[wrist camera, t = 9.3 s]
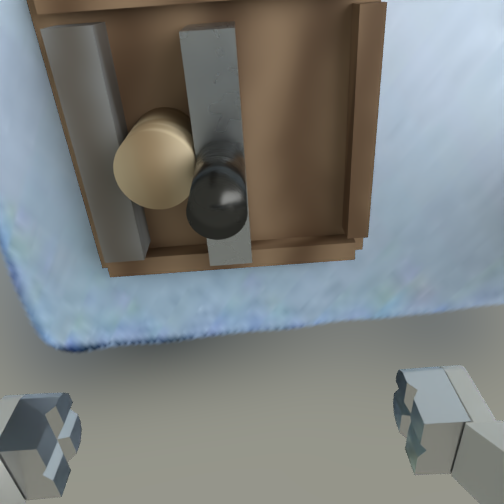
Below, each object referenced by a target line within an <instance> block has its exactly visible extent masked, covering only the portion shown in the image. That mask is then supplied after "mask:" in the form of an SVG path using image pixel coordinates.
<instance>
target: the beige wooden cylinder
mask: <svg viewBox="0 0 504 504" xmlns="http://www.w3.org/2000/svg"><path fill="white" fill-rule="evenodd" d="M195 165H196V156H195V149H194V141H193V134H192V126H191V119H190V117H189V116H188V115H187V114H185V113H184V112H182V111H180V110H177V109H174V108H170V107H159V108H155V109H152V110H150V111H148V112H146V113H145V114H144V115H142V116H141V117H140V119H139V120H138V121H137V123H136V124H135V125H134V127H133V128H132V130H131V131H130V133H129V134H128V135H127V137H126V138H125V140H124V141H123V142H122V144H121V145H120V147H119V148H118V150H117V152H116V154H115V157H114V163H113V171H114V176H115V179H116V182H117V184H118V186H119V188H120V189H121V191H122V192H123V193H124V194H125V195H126V196H127V197H128V198H129V199H130V200H132V201H133V202H135V203H136V204H138V205H141V206H143V207H146V208H150V209H167V208H171V207H174V206H176V205H178V204H180V203H181V202H183V201H184V200H185V199H186V198H187V197H188V196H189V193H190V189H191V184H192V179H193V175H194V170H195Z"/></svg>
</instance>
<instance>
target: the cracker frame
mask: <svg viewBox="0 0 504 504" xmlns="http://www.w3.org/2000/svg"><path fill="white" fill-rule="evenodd" d="M27 4H28V7H29V11H30V14H31V18H32V21H33V25H34V28H35V32H36V35H37V39H38V42H39V46H40V49H41V53H42V56H43V60H44V63H45V67H46V70H47V74H48V78H49V81H50V85H51V88H52V92H53V95H54V99H55V102H56V106H57V109H58V113H59V116H60V120H61V123H62V127H63V130H64V134H65V137H66V141H67V144H68V148H69V151H70V155H71V159H72V162H73V166H74V169H75V173H76V176H77V180H78V183H79V187H80V190H81V194H82V197H83V201H84V204H85V208H86V211H87V215H88V218H89V222H90V225H91V229H92V232H93V236H94V239H95V243H96V247H97V250H98V254H99V257H100V261H101V264H102V268H108V271H109V275H110V277H120V276H134V275H148V274H162V273H175V272H189V271H203V270H217V269H231V268H245V267H258V266H272V265H286V264H300V263H314V262H328V261H342V260H355V250H359V249H362V247H363V238H365V237H368V230H369V218H370V206H371V193H372V181H373V169H374V156H375V144H376V132H377V119H378V107H379V95H380V82H381V70H382V58H383V45H384V33H385V21H386V8H387V2H381V0H27ZM230 21H235V33H236V47H237V60H238V73H239V87H240V100H241V113H242V127H243V140H244V153H245V167H246V180H247V193H248V207H249V220H250V234H251V250H252V263H246V264H232V265H218V266H210V260H209V253H208V246H207V238H205V237H203V236H201V235H199V234H198V233H197V232H195V231H194V230H193V229H192V227H191V226H190V224H189V222H188V220H187V216H186V207H187V203H188V198H189V196H188V197H187V198H186V199H185V200H184V201H183V202H181V203H180V204H178V205H176V206H174V207H171V208H167V209H150V208H146V207H143V206H141V205H138V204H136V203H135V202H133V201H132V200H130V199H129V198H128V197H127V196H126V195H125V194H124V193H123V192H122V191H121V189H120V188H119V186H118V184H117V182H116V179H115V176H114V171H113V163H114V157H115V154H116V152H117V150H118V148H119V147H120V145H121V144H122V142H123V141H124V140H125V138H126V137H127V135H128V134H129V133H130V131H131V130H132V128H133V127H134V125H135V124H136V123H137V121H138V120H139V119H140V117H141V116H142V115H144V114H145V113H146V112H148V111H150V110H152V109H155V108H159V107H170V108H174V109H177V110H180V111H182V112H184V113H185V114H187V115H188V116H189V117H190V111H189V104H188V96H187V89H186V82H185V74H184V67H183V59H182V52H181V44H180V37H179V31H181V30H182V29H183V28H184V27H185V26H186V25H189V24H203V23H216V22H230Z"/></svg>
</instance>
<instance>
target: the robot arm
mask: <svg viewBox="0 0 504 504" xmlns="http://www.w3.org/2000/svg"><path fill="white" fill-rule="evenodd" d="M396 383H397V385H398V388H399V389H398V390H397V391H396V392H395V393H394V399H393V408H394V416H395V420H396V424H397V427H398V430H399V432H400V433H401V434H402V435H403V436H404V437H406V438H407V441H406V447H405V450H406V453H407V456H408V458H409V461H410V464H411V467H412V469H413V472H414V475H423V474H451V475H452V477H453V478H454V479H455V480H456V481H457V482H458V483H459V484H460V485H461V486H462V487H463V488H464V489H465V490H466V491H468V492H469V494H470V495H472V497H473V498H474V499H476V500H477V502H478V503H479V504H504V421H503V420H499V421H496V419H495V418H494V416H493V414H492V412H491V411H490V409H489V407H488V406H487V404H486V402H485V401H484V399H483V397H482V396H481V394H480V392H479V391H478V389H477V387H476V386H475V384H474V382H473V380H472V379H471V377H470V375H469V374H468V372H467V370H466V369H465V367H463V366H462V365H455V366H442V367H425V368H413V369H401V370H398V372H397V376H396ZM72 403H73V402H72V400H71V398H70V395H69V393H45V394H25V395H5V396H4V397H3V398H2V399H1V400H0V504H25V503H26V501H25V500H33V499H45V498H55V497H62V494H63V491H64V489H65V486H66V483H67V480H68V477H69V474H70V472H71V469H70V467H69V465H68V461H69V460H70V459H71V458H72V457H73V456H74V455H75V454H76V453H77V451H78V448H79V445H80V442H81V431H82V428H81V421H80V419H79V416H78V414H77V413H75V412H73V411H72V410H71V409H70V408H71V406H72Z"/></svg>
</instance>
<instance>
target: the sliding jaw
mask: <svg viewBox="0 0 504 504" xmlns="http://www.w3.org/2000/svg"><path fill="white" fill-rule="evenodd" d="M179 37H180V44H181V52H182V59H183V67H184V74H185V82H186V89H187V96H188V104H189V111H190V119H191V126H192V134H193V141H194V149H195V156H196V165H195V170H194V175H193V179H192V184H191V189H190V193H189V198H188V203H187V207H186V216H187V220H188V222H189V224H190V226H191V227H192V229H193V230H194V231H195V232H197V233H198V234H199V235H201V236H203V237H205V238H207V246H208V253H209V260H210V266H218V265H232V264H246V263H252V250H251V234H250V220H249V207H248V193H247V180H246V167H245V153H244V140H243V127H242V113H241V100H240V87H239V73H238V60H237V47H236V33H235V21H230V22H216V23H203V24H189V25H186V26H185V27H184V28H183V29H182V30H181V31H179Z"/></svg>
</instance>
